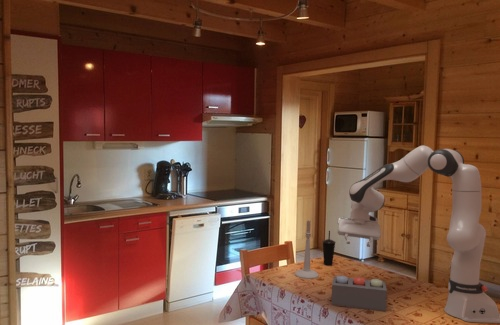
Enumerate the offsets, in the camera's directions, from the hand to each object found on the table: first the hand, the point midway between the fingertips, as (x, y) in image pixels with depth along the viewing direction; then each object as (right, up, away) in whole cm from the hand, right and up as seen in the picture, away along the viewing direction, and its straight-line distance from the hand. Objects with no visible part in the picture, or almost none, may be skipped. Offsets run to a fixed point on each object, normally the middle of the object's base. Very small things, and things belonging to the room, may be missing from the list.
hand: (358, 244), depth 205 cm
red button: (-3, -16, -13) cm, 21 cm away
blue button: (-10, -16, -11) cm, 22 cm away
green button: (+4, -17, -14) cm, 22 cm away
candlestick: (-21, -21, +26) cm, 40 cm away
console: (-3, -24, -12) cm, 27 cm away
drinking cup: (-6, -21, +47) cm, 52 cm away
